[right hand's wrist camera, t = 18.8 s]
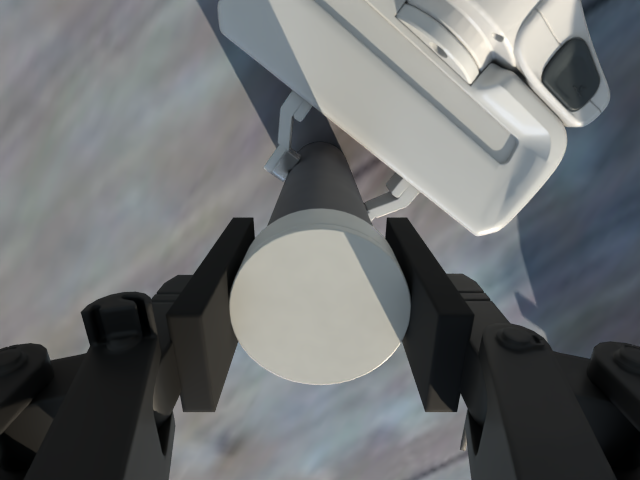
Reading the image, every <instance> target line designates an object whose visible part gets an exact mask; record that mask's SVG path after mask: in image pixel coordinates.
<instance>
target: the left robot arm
mask: <svg viewBox="0 0 640 480" xmlns="http://www.w3.org/2000/svg"><path fill="white" fill-rule="evenodd" d="M217 10H218V20H219V27H220V31H221V33H222V34H223V35H224V36H226V37H227V38H228V39H229V40H231V41H232V42H233V43H234V44H236V45H237V46H238V47H239V48H241V49H242V50H243V51H244V52H246V53H247V54H248V55H249V56H251V57H252V58H253V59H254V60H256V61H257V62H258V63H259V64H261V65H262V66H263V67H264V68H266V69H267V70H268V71H269V72H271V73H272V74H273V75H274V76H276V77H277V78H278V79H280V80H281V81H282V82H283V83H285V84H286V85H287V86H288V87H290V88H291V89H292V91H291V93H290V94H289V96H288V97H287V99H286V100H285V102H284V103H283V105H282V106H281V108H280V120H279V133H278V144H279V146H278V147H277V149H276V150H275V152H274V153H273V154H272V156H271V157H270V159H269V160H268V162H267V163H266V165H265V166H264V169H265V170H267V171H268V172H269V173H271V174H272V175H274V176H275V177H277V178H278V179H279V180H281V181H282V182H284V180H285V179H286V178H287V176H288V174H289V172H290V170H291V169H293V168H294V167H295V165H296V164H297V163H298V161H299V159H300V156H301V155H300V154H298V153H297V152H296V151H295V150H293V149H292V148H291V141H292V131H293V121H294V118H295V119H296V120H297V121H299V122H301V121H302V120H303V119H304V118H305V116H306V115H307V113H308V112H309V111H310V109H311V108H312V107H315V108H316V109H317V110H318V111H320V112H321V113H322V114H323V115H325V116H326V117H327V118H328V119H330V120H331V121H332V122H333V123H335V124H336V125H337V126H338V127H340V128H341V129H342V130H343V131H345V132H346V133H347V134H348V135H350V136H351V137H352V138H353V139H355V140H356V141H357V142H358V143H360V144H361V145H362V146H363V147H365V148H366V149H367V150H368V151H370V152H371V153H372V154H373V155H375V156H376V157H377V158H378V159H380V160H381V161H382V162H383V163H385V164H386V165H387V166H389V167H390V168H391V169H392V170H394V171H395V174H394V175H393V176H392V177H391V178H390V180H389V181H388V182H387V183H386V186H387V188H388V189H389V191H390V192H388V193H385V194H383V195H381V196H378V197H376V198H374V199H371V200H369V201H367V202H365V203H364V202H363V203H364V205H365V208H366V210H367V213H368V216H369V218H370V221H372V220H373V219H374V218H375V217H377V218H378V217H380V216H383V215H386V214H389V213H391V212H394V211H397V210H399V209H402V208H405V207H407V206H408V205H409V204H410V203H411V202H412V201H413V199H414V198H415V197H416V196H417V195H418V194H419V193H420V192H421V193H422V194H424V195H425V196H426V197H427V198H429V199H430V200H431V201H432V202H434V203H435V204H436V205H437V206H439V207H440V208H441V209H442V210H444V211H445V212H446V213H447V214H449V215H450V216H451V217H452V218H454V219H455V220H456V221H457V222H459V223H460V224H461V225H462V226H464V227H465V228H466V229H467V230H469V231H470V232H471V233H473V234H474V235H476V236H481V235H486V234H490V233H494V232H497V231H499V230H500V229H502V228H503V227H504V226H505V225H506V224H508V223H509V222H510V221H511V220H512V219H513V218H514V217H515V216H516V215H517V214H518V213H519V212H520V211H521V209H522V208H523V207H524V206H525V205H526V204H527V203H528V202H529V201H530V200H531V199H532V197H533V196H534V195H535V194H536V193H537V192H538V191H539V189H540V188H541V187H542V186H543V185H544V183H545V182H546V181H547V180H548V179H549V177H550V176H551V175H552V173H553V172H554V171H555V169H556V168H557V167H558V165H559V163H560V162H561V160H562V158H563V156H564V153H565V150H566V146H567V133H566V129H565V127H584V126H586V125H588V124H590V123H591V122H593V121H594V120H595V119H596V118H597V117H598V116H599V115H600V114H601V113H602V112H603V111H604V110H605V108H606V107H607V105H608V104H609V101H610V90H609V86H608V84H607V81H606V78H605V76H604V73H603V71H602V68H601V65H600V63H599V60H598V57H597V55H596V52H595V49H594V46H593V43H592V40H591V37H590V34H589V31H588V27H587V24H586V20H585V16H584V12H583V8H582V4H581V0H219V2H218V6H217Z"/></svg>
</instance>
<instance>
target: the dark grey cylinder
mask: <svg viewBox="0 0 640 480" xmlns="http://www.w3.org/2000/svg"><path fill="white" fill-rule="evenodd" d="M298 154H300V155H301V156H300V159H299V161H298V163H297V164H296V165H295V167H294V168H293V169H291V170H290V172H289V174H288V176H287V178H286V180H285V183H284V185H283V188H282V190H281V193H280V195H279V198H278V200H277V203H276V205H275V208H274V211H273V213H272V216H271V218H270V221H269V223H268V225H270V224H271V223H273V222H274V221H276V220H278V219H279V218H281V217H284V216H286V215H288V214H291V213H294V212H297V211H302V210H308V209H333V210H338V211H343V212H346V213H349V214H352V215H354V216H356V217H358V218H360V219H362V220H364V221H366V222H367V223H369V224H370V225H372V223H371V221H370V218H369V216H368V213H367V210H366V208H365V205H364V203H363V200H362V198H361V195H360V193H359V190H358V188H357V185H356V183H355V180H354V178H353V175H352V173H351V170H350V168H349V165H348V163H347V160H346V158H345V156H344V154H343V153H342V152H341V151H340V150H339V149H338V148H337V147H335V146H334V145H332V144H329V143H326V142H315V143H311V144H308V145H306V146H305V147H303V148H302V149H301V150H300V151H299V152H298Z"/></svg>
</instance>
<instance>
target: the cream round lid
mask: <svg viewBox="0 0 640 480" xmlns="http://www.w3.org/2000/svg"><path fill="white" fill-rule="evenodd" d="M229 310H230V319H231V325H232V328H233V331H234V333H235V335H236V337H237V340H238V341H239V343H240V344H241V346H242V347H243V349H244V350H245V351H246V353H247V354H248V355H249V356H250V357H251V358H252V359H253V360H254V361H255V362H257V363H258V364H259V365H260V366H262V367H263V368H265V369H266V370H268V371H269V372H271V373H273V374H275V375H277V376H280V377H282V378H284V379H287V380H291V381H294V382H298V383H304V384H314V385H326V384H336V383H342V382H346V381H350V380H353V379H355V378H358V377H361V376H363V375H365V374H367V373H369V372H371V371H372V370H374V369H375V368H377V367H379V366H380V365H381V364H382V363H383V362H385V361H386V360H387V359H388V358H389V357H390V356H391V355H392V354H393V353H394V352H395V350H396V349H397V347H398V346H399V345H400V343H401V341H402V339H403V338H404V336H405V333H406V331H407V328H408V325H409V320H410V312H411V297H410V291H409V287H408V284H407V281H406V279H405V277H404V274H403V272H402V270H401V268H400V266H399V264H398V261H397V259H396V257H395V255H394V253H393V250H392V249H391V247H390V245H389V244H388V242H387V241H386V239H385V238H384V237H383V236H382V235H381V233H380V232H378V231H377V230H376V229H375V228H374V227H373V226H372V225H370V224H369V223H367V222H366V221H364V220H362V219H360V218H358V217H356V216H354V215H352V214H349V213H346V212H343V211H338V210H333V209H308V210H302V211H297V212H294V213H291V214H288V215H286V216H284V217H281V218H279V219H278V220H276V221H274V222H273V223H271V224H270V225H268V226H267V227H266V228H265V229H264V230H262V231H261V233H260V234H259V235H258V236H257V237H256V238H255V239H254V241H253V242H252V244H251V245H250V247H249V249H248V251H247V253H246V255H245V257H244V259H243V261H242V264H241V266H240V268H239V270H238V272H237V274H236V277H235V279H234V281H233V284H232V287H231V291H230V297H229Z"/></svg>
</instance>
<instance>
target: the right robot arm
mask: <svg viewBox="0 0 640 480" xmlns="http://www.w3.org/2000/svg"><path fill="white" fill-rule="evenodd" d="M254 239H255V235H254V221H253V218H233V219H232V220H231V222H230V223H229V224H228V226H227V227H226V229H225V230H224V232H223V233H222V234H221V236H220V237H219V239H218V240H217V242H216V243H215V245H214V246H213V247H212V249H211V250H210V252H209V253H208V255H207V256H206V257H205V259H204V260H203V262H202V263H201V265H200V266H199V267H198V269H197V270H196V272H195V273H194V275H177V276H175V277H174V278H172V279H170V280H169V281H167V282H166V283H164V284H163V286H162V287H161V288H160V289H159V290H158V292H157V294H155V295H154V297H153V298H152V299H151V298H150V297H149V296H148V295H146V294H144V293H139V292H122V293H117V294H112V295H109V296H106V297H103V298H100V299H98V300H96V301H94V302H93V303H91V304H89V305H87V306H86V307H85V308H84V310H83V311H82V312H81V315H82V318H83V322H84V325H85V329H86V332H87V336H88V340H89V343H90V347H89V349H88V351H87V353H85V354H81V355H76V356H71V357H66V358H61V359H56V360H51V361H50V358H49V355H48V352H47V349H46V348H45V347H43V346H42V345H40V344H32V343H28V344H20V345H13V346H9V347H5V348H2V349H0V480H169V473H170V465H171V456H172V448H173V440H174V432H175V420H174V415H173V408H174V406H175V404H176V402H177V400H178V397H179V395H180V397H181V403H182V408H183V412H215V410H216V407H217V404H218V401H219V398H220V395H221V392H222V389H223V386H224V383H225V380H226V377H227V374H228V371H229V367H230V364H231V361H232V358H233V355H234V352H235V349H236V346H237V343H238V340H237V337H236V335H235V333H234V331H233V328H232V325H231V319H230V310H229V297H230V291H231V287H232V284H233V281H234V279H235V277H236V274H237V272H238V270H239V268H240V266H241V264H242V261H243V259H244V257H245V255H246V253H247V251H248V249H249V247H250V245H251V244H252V242H253V241H254ZM385 239H386V241H387V242H388V244H389V245H390V247H391V249H392V250H393V253H394V255H395V257H396V259H397V261H398V264H399V266H400V268H401V270H402V272H403V274H404V277H405V279H406V281H407V284H408V287H409V291H410V297H411V312H410V320H409V325H408V328H407V331H406V333H405V336H404V338H403V339H402V343H403V346H404V349H405V352H406V355H407V358H408V361H409V364H410V367H411V370H412V373H413V376H414V379H415V382H416V385H417V388H418V391H419V394H420V397H421V400H422V403H423V406H424V409H425V412H457V409H458V404H459V398H460V393H461V395H462V397H463V399H464V401H465V404H466V406H467V408H468V410H467V415H466V420H465V425H464V430H463V435H462V440H461V447H460V450H463V451H465V449H466V444H467V447H468V456H469V464H470V472H471V480H640V347H638V346H635V345H633V346H632V344H627V343H619V342H603V343H599V344H598V345H597V346H595V347H594V350H593V353H592V356H591V359H588V358H583V357H578V356H573V355H567V354H562V353H558V352H554V351H552V349H551V347H550V345H549V344H548V343H547V341H546V340H545V339H544V338H543V337H542V336H540V335H539V334H537V333H536V332H534V331H532V330H530V329H527V328H525V327H523V326H519V325H515V324H510V322H509V321H508V320H507V319H506V318H505V316H504V315H503V314H502V313H501V312H500V310H499V309H498V308H497V307H496V306H495V304H494V303H493V302H492V301H490V298H489V297H488V296H487V295H486V293H484V291H483V290H482V289H481V287H480V286H479V285H478V284H477V282H475V281H474V280H472V279H470V278H469V277H467V276H465V275H464V274H446V273H445V271H444V270H443V269H442V267H441V266H440V264H439V263H438V261H437V260H436V259H435V257H434V256H433V254H432V253H431V251H430V250H429V248H428V247H427V246H426V244H425V243H424V241H423V240H422V238H421V237H420V236H419V234H418V233H417V231H416V230H415V228H414V227H413V226H412V224H411V223H410V221H409V220H408V218H387V224H386V238H385Z"/></svg>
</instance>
